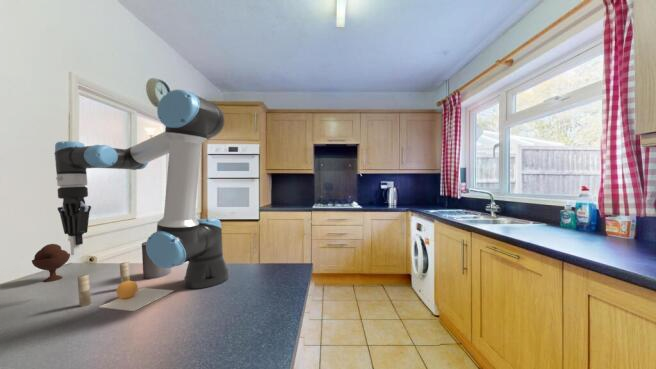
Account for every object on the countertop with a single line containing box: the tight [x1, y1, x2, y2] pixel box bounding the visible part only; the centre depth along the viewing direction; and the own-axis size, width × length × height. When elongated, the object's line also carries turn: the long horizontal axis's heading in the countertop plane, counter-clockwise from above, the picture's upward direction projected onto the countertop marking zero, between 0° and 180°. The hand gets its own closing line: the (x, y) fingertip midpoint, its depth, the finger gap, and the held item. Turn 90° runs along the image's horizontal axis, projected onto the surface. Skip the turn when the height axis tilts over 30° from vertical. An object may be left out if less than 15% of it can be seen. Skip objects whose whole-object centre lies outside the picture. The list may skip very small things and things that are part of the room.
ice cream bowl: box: [31, 243, 71, 283], centre depth 109 cm, size 11×11×15 cm
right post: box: [119, 261, 131, 284], centre depth 94 cm, size 3×3×9 cm
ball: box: [115, 280, 139, 299], centre depth 86 cm, size 6×6×6 cm
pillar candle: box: [141, 241, 172, 280], centre depth 108 cm, size 10×10×15 cm
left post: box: [77, 274, 92, 308], centre depth 82 cm, size 3×3×9 cm
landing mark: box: [98, 287, 175, 312], centre depth 84 cm, size 14×14×1 cm
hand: (77, 253), depth 92 cm, fingers closed
